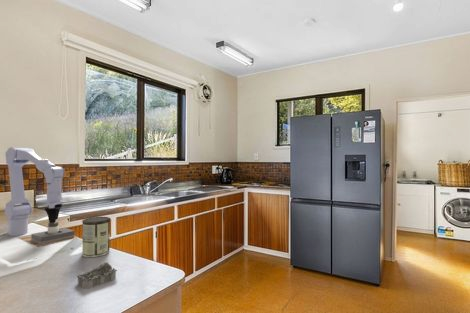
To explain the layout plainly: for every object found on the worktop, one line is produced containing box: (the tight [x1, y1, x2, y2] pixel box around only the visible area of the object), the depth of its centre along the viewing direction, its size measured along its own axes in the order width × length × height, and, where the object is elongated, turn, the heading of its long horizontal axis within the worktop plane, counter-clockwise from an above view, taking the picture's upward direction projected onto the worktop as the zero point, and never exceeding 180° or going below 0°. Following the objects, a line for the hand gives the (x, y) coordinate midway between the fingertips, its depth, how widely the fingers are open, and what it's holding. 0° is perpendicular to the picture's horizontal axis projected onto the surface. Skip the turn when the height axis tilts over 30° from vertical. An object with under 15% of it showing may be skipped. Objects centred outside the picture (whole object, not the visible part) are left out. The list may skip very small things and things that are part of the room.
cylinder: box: [47, 221, 60, 235], centre depth 127 cm, size 4×4×6 cm
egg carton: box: [75, 261, 118, 289], centre depth 86 cm, size 11×8×4 cm
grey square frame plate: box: [30, 227, 75, 244], centre depth 127 cm, size 14×10×3 cm
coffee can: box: [81, 216, 111, 258], centre depth 111 cm, size 10×10×14 cm
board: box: [16, 234, 80, 248], centre depth 128 cm, size 24×17×1 cm
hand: (53, 220), depth 127 cm, fingers open, 7 cm apart
